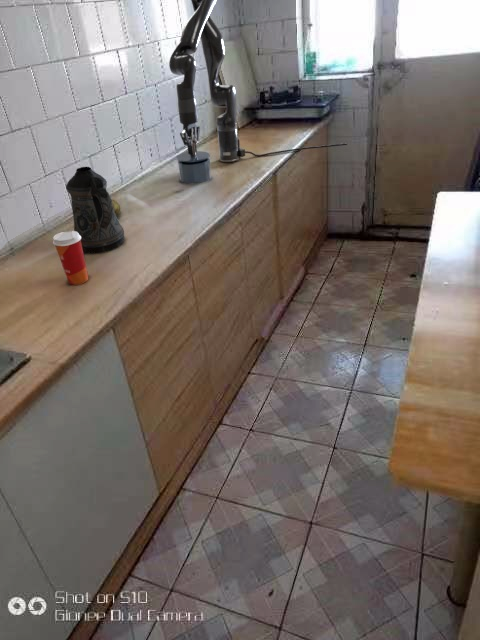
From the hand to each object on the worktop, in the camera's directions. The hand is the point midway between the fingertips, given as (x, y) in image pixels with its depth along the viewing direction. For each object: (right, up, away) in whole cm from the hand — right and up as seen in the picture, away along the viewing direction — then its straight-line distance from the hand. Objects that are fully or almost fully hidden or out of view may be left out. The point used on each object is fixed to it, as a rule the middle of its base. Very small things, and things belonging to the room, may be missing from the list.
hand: (192, 153), depth 204 cm
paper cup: (-27, -60, -66) cm, 93 cm away
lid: (0, -1, +1) cm, 2 cm away
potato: (-28, -33, -24) cm, 49 cm away
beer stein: (-25, -46, -45) cm, 69 cm away
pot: (+1, -9, +6) cm, 11 cm away
